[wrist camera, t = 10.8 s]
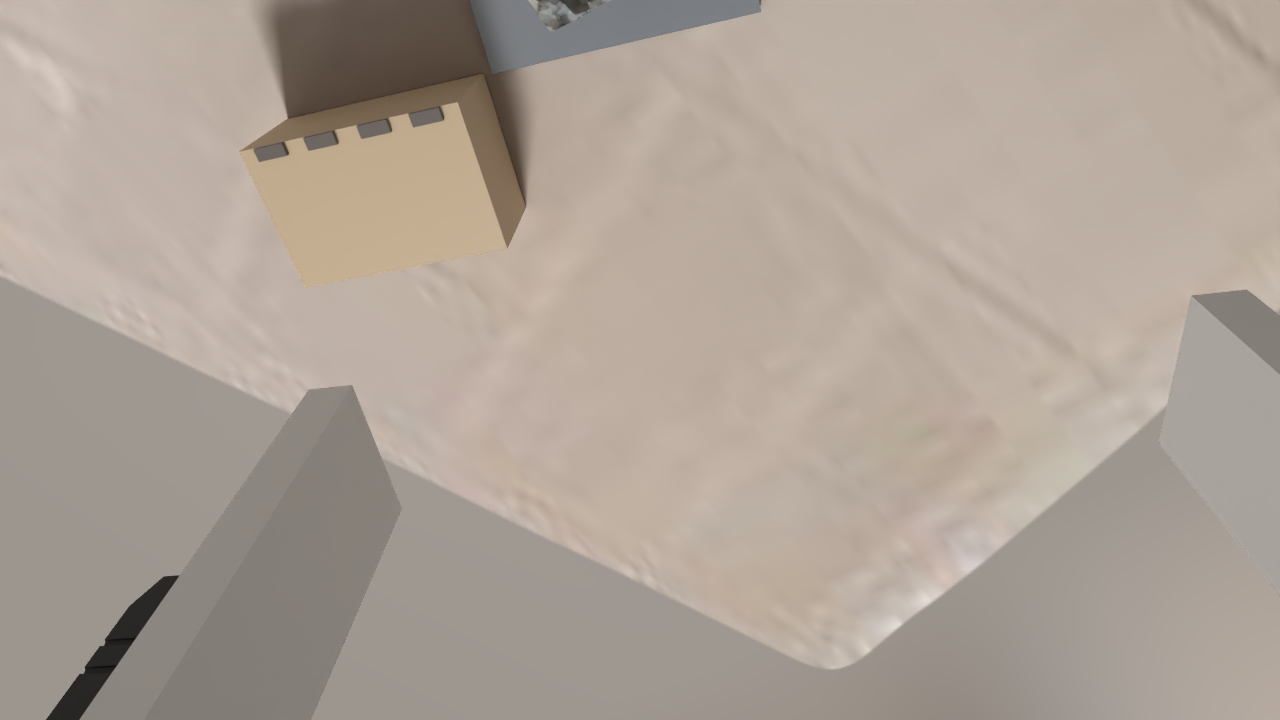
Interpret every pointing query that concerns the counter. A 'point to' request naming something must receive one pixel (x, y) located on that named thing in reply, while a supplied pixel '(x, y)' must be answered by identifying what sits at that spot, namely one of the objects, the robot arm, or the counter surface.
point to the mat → (589, 27)
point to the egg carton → (563, 11)
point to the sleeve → (389, 182)
